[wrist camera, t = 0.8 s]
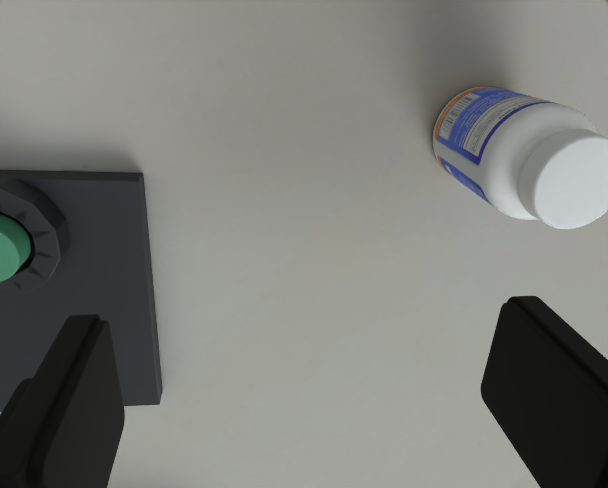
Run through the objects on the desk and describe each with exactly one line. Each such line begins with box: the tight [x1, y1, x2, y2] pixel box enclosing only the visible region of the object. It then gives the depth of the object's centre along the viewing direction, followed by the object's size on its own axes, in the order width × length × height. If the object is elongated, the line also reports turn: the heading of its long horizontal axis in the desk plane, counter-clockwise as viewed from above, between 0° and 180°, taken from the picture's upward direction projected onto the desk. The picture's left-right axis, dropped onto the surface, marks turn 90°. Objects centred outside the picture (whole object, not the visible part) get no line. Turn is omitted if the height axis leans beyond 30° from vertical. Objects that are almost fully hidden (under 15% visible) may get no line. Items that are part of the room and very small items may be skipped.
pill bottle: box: [433, 86, 608, 229], centre depth 23 cm, size 5×5×10 cm
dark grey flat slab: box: [0, 170, 162, 412], centre depth 27 cm, size 16×14×3 cm
